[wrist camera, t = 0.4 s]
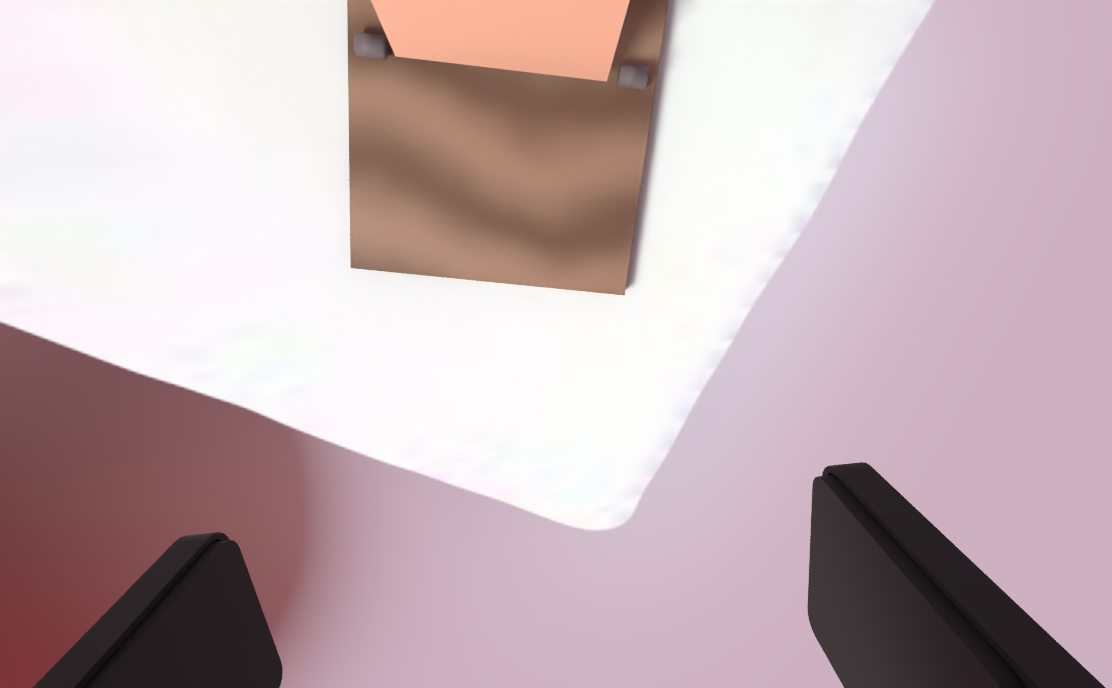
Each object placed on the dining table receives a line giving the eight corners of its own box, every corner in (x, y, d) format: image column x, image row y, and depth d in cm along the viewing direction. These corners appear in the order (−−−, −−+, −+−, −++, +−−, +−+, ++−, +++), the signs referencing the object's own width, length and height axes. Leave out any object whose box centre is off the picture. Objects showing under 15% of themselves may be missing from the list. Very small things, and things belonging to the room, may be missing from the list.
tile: (334, -120, 21) (331, -90, 21) (646, -79, 21) (643, -49, 21) (397, 35, 31) (395, 56, 31) (608, 60, 31) (606, 81, 31)
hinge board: (351, -183, 29) (336, -210, 27) (685, -137, 30) (695, -159, 28) (355, 265, 36) (344, 271, 34) (622, 291, 37) (627, 299, 35)
